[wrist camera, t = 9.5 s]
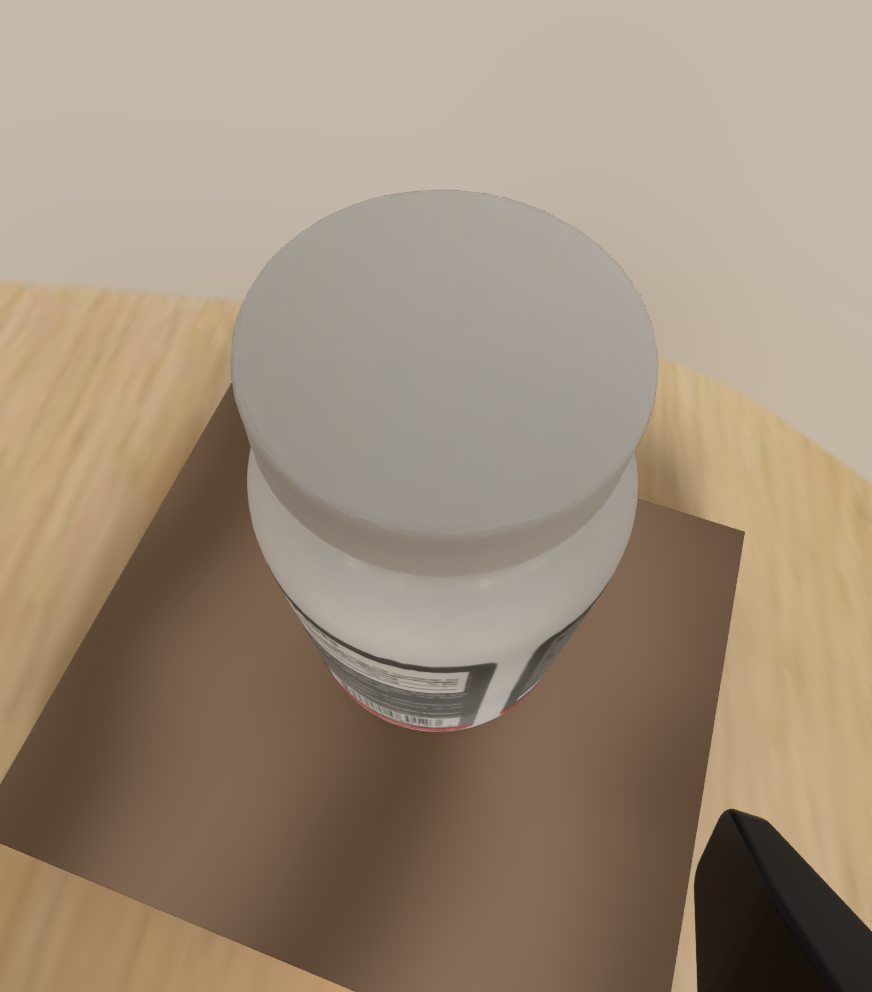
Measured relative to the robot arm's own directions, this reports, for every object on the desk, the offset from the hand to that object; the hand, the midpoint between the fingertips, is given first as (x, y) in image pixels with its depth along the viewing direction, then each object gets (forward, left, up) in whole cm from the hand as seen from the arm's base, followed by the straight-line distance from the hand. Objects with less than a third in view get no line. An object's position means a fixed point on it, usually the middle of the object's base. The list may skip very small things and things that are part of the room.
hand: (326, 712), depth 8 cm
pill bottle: (0, +4, -8) cm, 9 cm away
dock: (0, +2, -10) cm, 10 cm away
